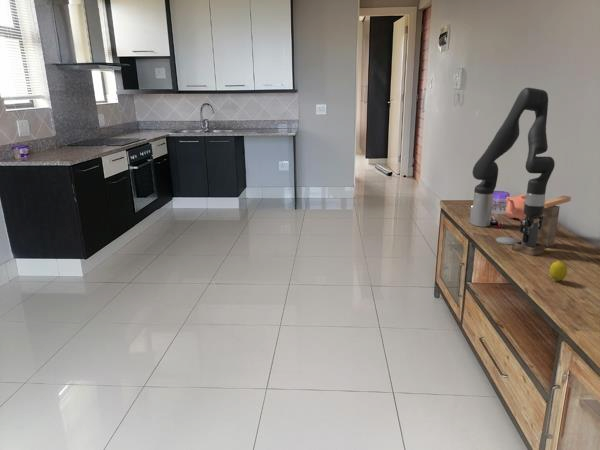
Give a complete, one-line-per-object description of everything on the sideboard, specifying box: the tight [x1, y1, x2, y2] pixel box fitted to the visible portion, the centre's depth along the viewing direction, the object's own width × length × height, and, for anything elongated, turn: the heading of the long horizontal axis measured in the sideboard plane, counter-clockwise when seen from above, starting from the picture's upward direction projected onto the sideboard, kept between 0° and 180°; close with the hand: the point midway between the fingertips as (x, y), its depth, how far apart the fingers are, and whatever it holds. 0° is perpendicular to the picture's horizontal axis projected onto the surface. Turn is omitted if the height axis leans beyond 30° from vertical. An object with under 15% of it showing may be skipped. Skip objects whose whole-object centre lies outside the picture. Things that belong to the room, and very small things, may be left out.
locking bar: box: [544, 195, 572, 208], centre depth 198 cm, size 3×21×2 cm, turn 124°
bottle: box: [521, 218, 539, 248], centre depth 192 cm, size 6×6×15 cm
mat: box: [495, 236, 520, 246], centre depth 206 cm, size 10×10×1 cm
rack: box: [511, 205, 561, 256], centre depth 195 cm, size 10×21×18 cm, turn 124°
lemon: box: [549, 260, 568, 282], centre depth 162 cm, size 6×6×8 cm
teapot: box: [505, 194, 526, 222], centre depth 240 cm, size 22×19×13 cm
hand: (529, 240), depth 193 cm, fingers closed on bottle, 6 cm apart
